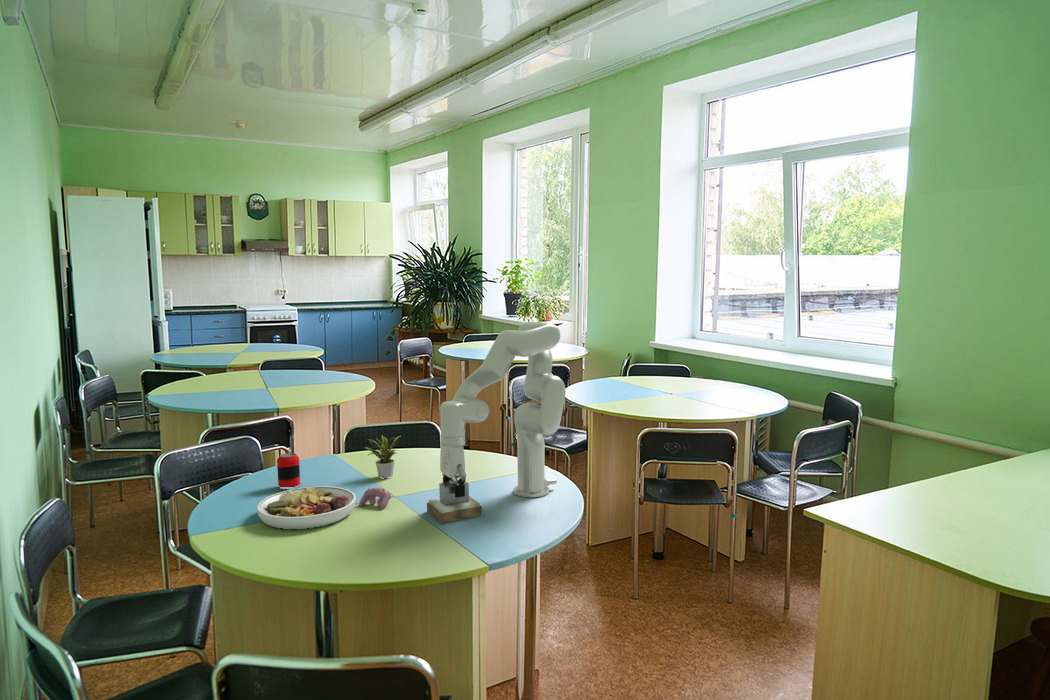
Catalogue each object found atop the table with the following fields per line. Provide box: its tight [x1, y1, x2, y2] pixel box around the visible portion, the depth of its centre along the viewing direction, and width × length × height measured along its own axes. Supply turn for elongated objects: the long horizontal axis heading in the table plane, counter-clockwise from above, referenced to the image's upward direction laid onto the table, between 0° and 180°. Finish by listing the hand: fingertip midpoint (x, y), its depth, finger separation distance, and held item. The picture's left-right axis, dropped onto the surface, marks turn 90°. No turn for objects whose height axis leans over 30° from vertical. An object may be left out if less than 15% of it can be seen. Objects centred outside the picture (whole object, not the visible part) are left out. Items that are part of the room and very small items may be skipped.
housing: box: [438, 478, 470, 506], centre depth 213 cm, size 5×8×7 cm, turn 119°
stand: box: [426, 495, 483, 524], centre depth 213 cm, size 14×12×4 cm
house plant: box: [364, 435, 401, 478], centre depth 254 cm, size 14×14×16 cm
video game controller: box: [359, 487, 392, 510], centre depth 222 cm, size 10×5×7 cm, turn 67°
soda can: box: [276, 452, 301, 487], centre depth 242 cm, size 8×8×12 cm
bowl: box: [256, 485, 357, 530], centre depth 213 cm, size 30×30×8 cm
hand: (453, 492), depth 213 cm, fingers open, 9 cm apart
